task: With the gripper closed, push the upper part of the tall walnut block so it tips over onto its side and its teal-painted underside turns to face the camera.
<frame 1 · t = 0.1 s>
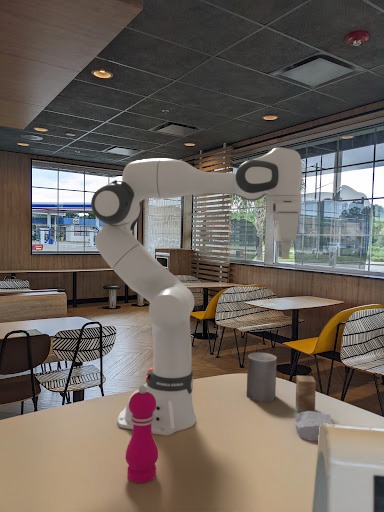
hand: (283, 258, 107), 48 cm above the table, tool pointing down, fingers open, 8 cm apart
walnut block: (305, 410, 121), on the table
stone block: (313, 432, 108), on the table
pillar candle: (261, 396, 131), on the table
pepper mill: (141, 475, 86), on the table
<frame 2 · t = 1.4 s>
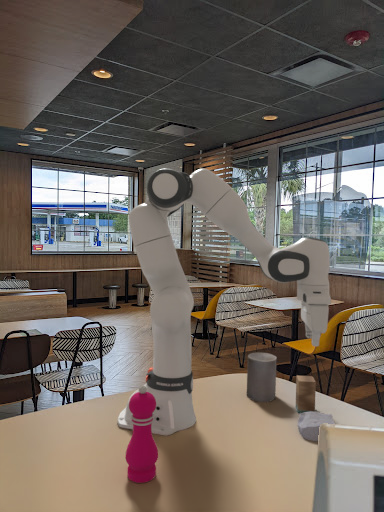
hand: (312, 341, 112), 24 cm above the table, tool pointing down, fingers open, 8 cm apart
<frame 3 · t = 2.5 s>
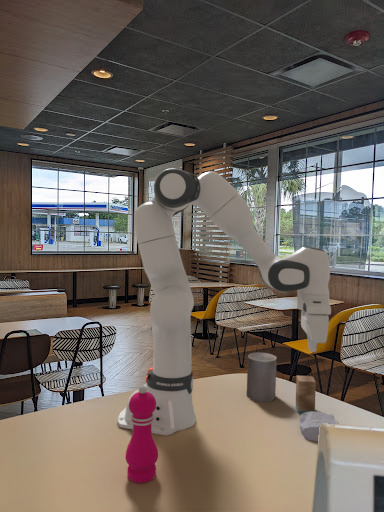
hand: (312, 350, 112), 21 cm above the table, tool pointing down, fingers closed
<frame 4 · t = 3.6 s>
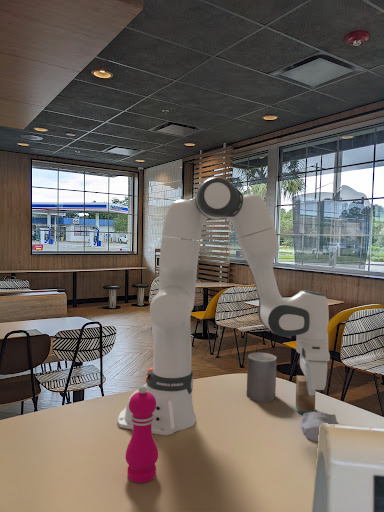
hand: (310, 393, 112), 8 cm above the table, tool pointing down, fingers closed
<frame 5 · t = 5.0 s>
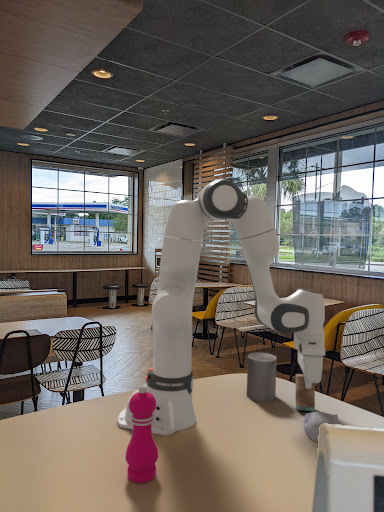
hand: (307, 387, 118), 8 cm above the table, tool pointing down, fingers closed
walnut block: (305, 408, 121), on the table, tilted 12°
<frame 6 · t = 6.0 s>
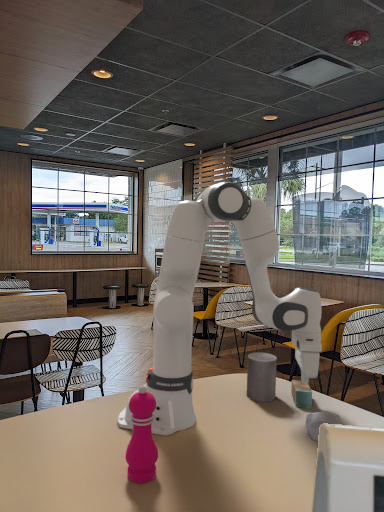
hand: (304, 382, 122), 8 cm above the table, tool pointing down, fingers closed
walnut block: (303, 399, 123), point 2 cm above the table, tilted 90°
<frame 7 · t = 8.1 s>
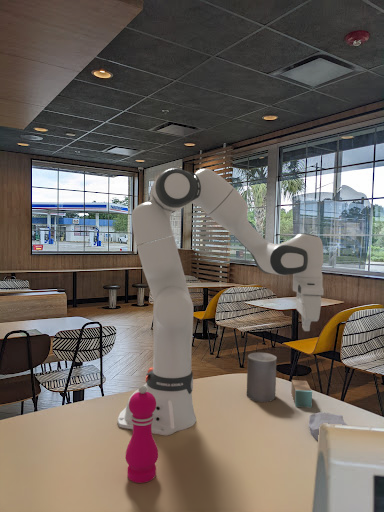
hand: (305, 330, 121), 25 cm above the table, tool pointing down, fingers closed
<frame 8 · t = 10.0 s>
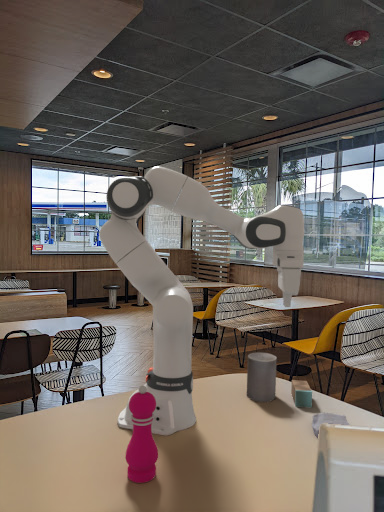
hand: (286, 306, 115), 33 cm above the table, tool pointing down, fingers closed
at the end: walnut block tilted 90°; walnut block inside the target area (3.0 cm from its centre), point 2.4 cm above the table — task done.
